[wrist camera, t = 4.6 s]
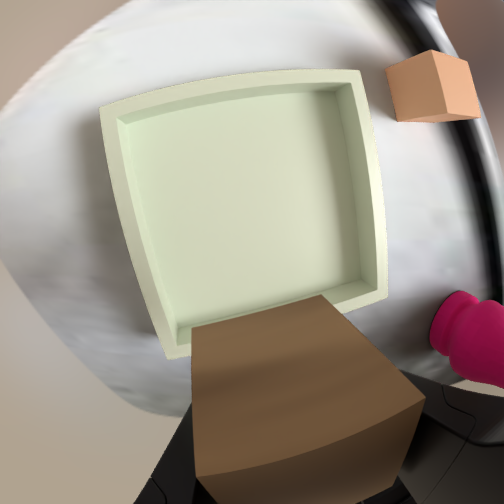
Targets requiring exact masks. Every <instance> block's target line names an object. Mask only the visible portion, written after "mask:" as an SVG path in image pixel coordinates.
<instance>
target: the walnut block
mask: <svg viewBox="0 0 504 504" xmlns="http://www.w3.org/2000/svg"><path fill="white" fill-rule="evenodd" d="M191 380H192V417H193V439H194V456H195V470H196V478H197V479H198V480H199V481H200V483H201V484H202V485H203V486H204V488H205V489H206V490H207V491H208V492H209V494H210V495H211V496H212V497H213V498H214V499H215V501H216V502H217V503H218V504H355V503H358V502H360V501H362V500H365V499H367V498H369V497H371V496H373V495H375V494H377V493H379V492H381V491H383V490H385V489H387V488H389V487H391V486H392V485H393V483H394V481H395V479H396V477H397V475H398V473H399V470H400V468H401V466H402V464H403V461H404V459H405V456H406V454H407V451H408V449H409V446H410V444H411V441H412V439H413V436H414V433H415V430H416V427H417V424H418V421H419V418H420V415H421V412H422V409H423V406H424V402H425V399H426V397H425V396H424V395H423V394H422V393H421V392H420V391H419V390H418V389H417V388H416V387H415V386H414V385H413V384H412V383H411V382H410V381H409V380H408V379H407V378H406V377H405V376H404V375H403V374H402V373H401V372H400V371H399V370H398V369H397V368H396V367H395V366H394V365H393V364H392V363H391V362H390V361H389V360H388V359H387V358H386V357H385V356H384V355H383V354H382V353H381V352H380V351H379V350H378V349H377V348H376V347H375V346H374V345H373V344H372V343H371V342H370V341H369V340H368V339H367V338H366V337H365V336H364V335H363V334H362V333H361V332H360V331H359V330H358V329H357V328H356V327H355V326H354V325H353V324H352V323H351V322H350V321H349V320H347V319H346V318H345V317H344V316H343V315H342V314H341V313H340V312H339V311H338V310H337V309H336V308H335V307H334V306H333V305H332V304H331V303H330V302H329V301H328V300H327V299H326V298H325V297H324V296H323V295H322V294H320V295H317V296H313V297H310V298H306V299H303V300H299V301H296V302H292V303H289V304H285V305H282V306H278V307H274V308H271V309H267V310H263V311H259V312H255V313H252V314H248V315H244V316H240V317H236V318H232V319H228V320H223V321H219V322H215V323H211V324H206V325H202V326H198V327H193V328H191Z"/></svg>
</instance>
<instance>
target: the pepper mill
mask: <svg viewBox="0 0 504 504" xmlns="http://www.w3.org/2000/svg"><path fill="white" fill-rule="evenodd" d="M429 339H430V343H431V345H432V347H433V348H434V349H436V350H437V351H438V352H440V353H441V354H442V355H444V356H449V360H450V364H451V367H452V369H453V370H454V371H455V372H456V373H457V374H459V375H460V376H462V377H463V378H465V379H468V380H470V381H474V382H480V383H486V384H491V385H495V386H498V387H500V388H503V389H504V307H503V306H502V305H500V304H499V303H497V302H496V301H493V300H486V301H483V302H480V303H479V301H478V299H477V298H476V297H474V296H472V295H471V294H469V293H467V292H465V291H458V292H455V293H454V294H452V295H450V296H449V297H448V298H447V299H446V300H445V301H444V303H443V304H442V305H441V307H440V308H439V310H438V311H437V313H436V315H435V317H434V320H433V322H432V325H431V329H430V338H429Z"/></svg>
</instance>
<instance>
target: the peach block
mask: <svg viewBox="0 0 504 504" xmlns="http://www.w3.org/2000/svg"><path fill="white" fill-rule="evenodd" d="M385 72H386V76H387V79H388V83H389V87H390V91H391V95H392V100H393V104H394V109H395V114H396V119H397V122H428V123H435V122H444V121H453V120H463V119H474V118H481V114H480V109H479V104H478V100H477V95H476V91H475V87H474V83H473V80H472V76H471V72H470V69H469V66H468V62H467V61H464V60H461V59H459V58H456V57H453V56H450V55H447V54H444V53H440V52H437V51H434V50H429V51H426V52H424V53H421V54H419V55H416V56H414V57H411V58H409V59H407V60H404V61H402V62H400V63H397V64H395V65H393V66H391V67H388V68H386V69H385Z"/></svg>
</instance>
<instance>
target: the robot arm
mask: <svg viewBox="0 0 504 504" xmlns="http://www.w3.org/2000/svg"><path fill="white" fill-rule="evenodd" d="M397 369H398V368H397ZM398 370H399V371H400V372H401V373H402V374H403V375H404V376H405V377H406V378H407V379H408V380H409V381H410V382H411V383H412V384H413V385H414V386H415V387H416V388H417V389H418V390H419V391H420V392H421V393H422V394H423V395H424V396H425V397H426V399H425V402H424V406H423V409H422V412H421V415H420V418H419V421H418V424H417V427H416V430H415V433H414V436H413V439H412V441H411V444H410V446H409V449H408V451H407V454H406V456H405V459H404V461H403V464H402V466H401V468H400V470H399V473H398V475H397V477H396V479H395V481H394V483H393V485H392V486H391V487H389V488H387V489H385V490H383V491H381V492H379V493H377V494H375V495H373V496H371V497H369V498H367V499H365V500H362V501H360V502H358V503H355V504H504V397H500V396H494V395H487V394H481V393H477V392H472V391H466V390H463V389H460V388H456V387H452V386H449V385H446V384H441V383H440V382H436V381H433V380H430V379H427V378H424V377H421V376H418V375H415V374H412V373H410V372H407V371H404V370H401V369H398ZM133 504H218V503H217V502H216V501H215V499H214V498H213V497H212V496H211V495H210V494H209V492H208V491H207V490H206V489H205V488H204V486H203V485H202V484H201V483H200V481H199V480H198V479H197V478H196V470H195V456H194V439H193V417H192V403H191V404H190V406H189V408H188V410H187V412H186V414H185V415H184V417H183V419H182V421H181V423H180V424H179V426H178V428H177V430H176V432H175V434H174V435H173V437H172V439H171V441H170V443H169V444H168V446H167V448H166V450H165V451H164V454H163V455H162V457H161V458H160V460H159V462H158V464H157V466H156V468H155V469H154V471H153V473H152V474H151V478H149V479H148V481H147V483H146V485H145V487H144V488H143V490H142V491H141V493H140V494H139V496H138V498H137V499H136V501H135V502H134V503H133Z"/></svg>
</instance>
